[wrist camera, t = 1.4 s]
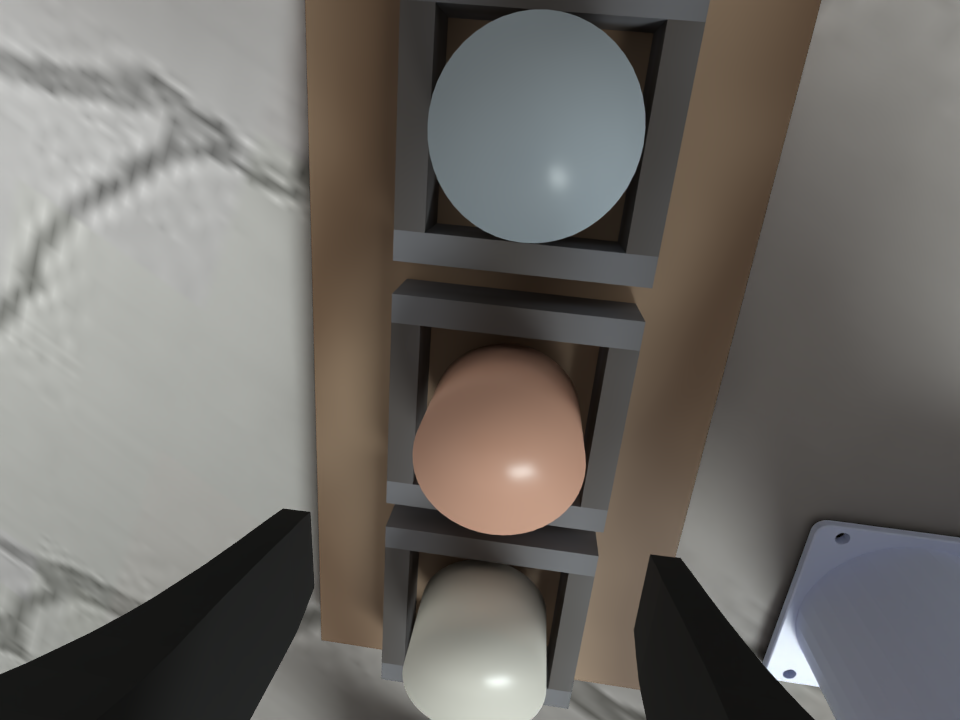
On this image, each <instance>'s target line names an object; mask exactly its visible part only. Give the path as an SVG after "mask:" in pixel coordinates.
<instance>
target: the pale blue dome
mask: <svg viewBox="0 0 960 720" xmlns="http://www.w3.org/2000/svg"><path fill="white" fill-rule="evenodd" d="M644 136H645V108H644V100H643V95H642V92H641V88H640V84H639V81H638V79H637V76H636V74H635V72H634V69H633V67H632V65H631V64H630V62H629V60H628V59H627V57H626V55H625V54H624V53H623V51H622V50H621V49H620V48H619V46H618V45H617V44H616V43H615V42H614V41H613V40H612V39H611V38H610V37H609V36H608V35H607V34H606V33H605V32H604V31H602V30H601V29H599V28H598V27H596V26H595V25H593V24H592V23H590V22H588V21H586V20H584V19H582V18H580V17H578V16H575V15H572V14H568V13H565V12H561V11H554V10H526V11H520V12H515V13H512V14H509V15H506V16H502V17H500V18H498V19H496V20H494V21H492V22H490V23H488V24H486V25H485V26H483V27H482V28H480V29H479V30H477V31H476V32H475V33H473V34H472V35H471V36H470V37H469V38H468V39H466V40H465V41H464V42H463V43H462V44H461V46H460V47H459V48H458V49H457V50H456V51H455V52H454V54H453V55H452V57H451V58H450V59H449V61H448V62H447V64H446V65H445V67H444V69H443V71H442V73H441V75H440V77H439V79H438V81H437V84H436V87H435V89H434V92H433V95H432V99H431V104H430V108H429V115H428V146H429V153H430V158H431V161H432V165H433V169H434V171H435V174H436V176H437V179H438V182H439V183H440V185H441V187H442V189H443V191H444V193H445V194H446V196H447V197H448V199H449V200H450V201H451V203H452V204H453V205H454V207H455V208H456V209H457V210H458V211H459V212H460V213H461V214H462V215H463V216H464V217H465V218H467V219H468V220H469V221H470V222H471V223H473V224H474V225H476V226H477V227H479V228H480V229H482V230H483V231H485V232H487V233H490V234H492V235H494V236H496V237H499V238H502V239H506V240H509V241H515V242H521V243H544V242H551V241H555V240H560V239H563V238H566V237H569V236H572V235H574V234H576V233H578V232H580V231H582V230H584V229H586V228H588V227H589V226H591V225H592V224H594V223H595V222H596V221H598V220H599V219H600V218H601V217H603V216H604V215H605V214H606V213H607V212H608V211H609V210H610V209H611V208H612V207H613V206H614V205H615V204H616V202H617V201H618V200H619V199H620V197H621V196H622V194H623V193H624V192H625V190H626V189H627V187H628V185H629V183H630V181H631V180H632V178H633V176H634V174H635V171H636V169H637V166H638V163H639V160H640V157H641V153H642V149H643V145H644Z"/></svg>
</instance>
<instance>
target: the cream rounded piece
mask: <svg viewBox="0 0 960 720" xmlns="http://www.w3.org/2000/svg"><path fill="white" fill-rule="evenodd" d="M402 675H403V683H404V687H405V690H406V692H407V694H408V696H409V698H410V700H411V701H412V702H413V704H414V705H415V706H416V707H417V708H418V709H419V710H420V711H421V712H422V713H423V714H424V715H426V716H427V717H428V718H430V719H431V720H531V719H532V718H533V717H534V716H535V715H536V714H537V713H538V712H539V710H540V709H541V707H542V705H543V703H544V700H545V696H546V605H545V601H544V599H543V596H542V594H541V592H540V591H539V589H538V588H537V586H536V585H535V584H534V583H533V582H532V581H531V580H530V579H529V578H528V577H527V576H526V575H524V574H523V573H522V572H520V571H518V570H516V569H515V568H513V567H511V566H508V565H506V564H501V563H494V562H487V561H480V560H465V561H460V562H456V563H453V564H451V565H448V566H446V567H445V568H443V569H441V570H440V571H438V572H437V573H436V574H435V575H434V576H433V577H432V578H431V579H430V580H429V582H428V583H427V585H426V587H425V589H424V592H423V595H422V599H421V603H420V606H419V610H418V614H417V617H416V621H415V625H414V628H413V632H412V636H411V639H410V643H409V647H408V651H407V654H406V658H405V662H404V665H403V672H402Z"/></svg>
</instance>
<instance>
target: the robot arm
mask: <svg viewBox="0 0 960 720" xmlns="http://www.w3.org/2000/svg"><path fill="white" fill-rule="evenodd" d="M840 533H844V535H843V536H841V537H838V538H835V537H836V536H837V535H838V534H840ZM313 589H314V572H313V553H312V535H311V516H310V512H306V511H298V510H290V509H282V510H280V511H279V512H278V513H276V514H275V515H273V516H272V517H270V518H269V519H268V520H266V521H265V522H263V523H262V524H261V525H259V526H258V527H257V528H255V529H254V530H253V531H251V532H250V533H248V534H247V535H246V536H244V537H243V538H242V539H240V540H239V541H237V542H236V543H235V544H233V545H232V546H230V547H229V548H227V549H226V550H225V551H223V552H222V553H220V554H219V555H218V556H216V557H215V558H213V559H212V560H210V561H209V562H208V563H206V564H205V565H203V566H202V567H200V568H199V569H197V570H196V571H194V572H193V573H191V574H189V575H188V576H186V577H185V578H183V579H182V580H180V581H179V582H177V583H176V584H174V585H172V586H171V587H169V588H168V589H166V590H165V591H163V592H162V593H160V594H158V595H157V596H155V597H154V598H152V599H150V600H149V601H147V602H145V603H144V604H142V605H140V606H138V607H137V608H135V609H133V610H132V611H130V612H128V613H126V614H124V615H123V616H121V617H119V618H117V619H115V620H113V621H111V622H110V623H108V624H106V625H104V626H102V627H100V628H99V629H97V630H95V631H93V632H91V633H89V634H87V635H85V636H83V637H81V638H78V639H76V640H74V641H72V642H70V643H68V644H66V645H64V646H62V647H60V648H58V649H55V650H53V651H51V652H49V653H47V654H45V655H43V656H41V657H39V658H37V659H35V660H32V661H30V662H28V663H26V664H23V665H21V666H19V667H16V668H14V669H12V670H9V671H7V672H5V673H2V674H0V720H250V719H251V717H252V715H253V713H254V711H255V709H256V708H257V706H258V704H259V702H260V700H261V698H262V696H263V695H264V693H265V691H266V689H267V687H268V685H269V683H270V682H271V680H272V678H273V676H274V674H275V672H276V670H277V669H278V667H279V665H280V663H281V661H282V659H283V657H284V655H285V654H286V652H287V650H288V648H289V646H290V644H291V642H292V640H293V638H294V636H295V634H296V632H297V630H298V628H299V625H300V623H301V620H302V618H303V615H304V613H305V610H306V608H307V605H308V602H309V600H310V597H311V594H312V592H313ZM634 639H635V651H636V661H637V671H638V680H639V685H640V690H641V695H642V700H643V705H644V709H645V714H646V719H647V720H814V719H813V718H812V717H811V716H810V715H809V714H808V713H807V712H806V711H805V710H804V709H803V708H802V707H801V705H800V704H799V703H798V702H797V701H796V700H795V699H794V698H793V697H792V696H791V695H790V694H789V693H788V692H787V691H786V690H785V688H784V687H783V686H782V685H781V684H780V683H779V682H778V681H785V682H791V683H798V684H804V685H811V686H818V687H820V689H821V691H822V693H823V695H824V697H825V699H826V701H827V703H828V705H829V707H830V709H831V711H832V713H833V715H834V717H835V719H836V720H960V537H952V536H945V535H937V534H930V533H922V532H915V531H907V530H899V529H892V528H884V527H877V526H869V525H862V524H854V523H847V522H839V521H831V520H822V521H819V522H817V523H816V524H814V525H813V527H812V528H811V531H810V533H809V536H808V539H807V542H806V544H805V547H804V550H803V553H802V555H801V558H800V561H799V564H798V566H797V569H796V572H795V575H794V577H793V580H792V583H791V586H790V588H789V591H788V594H787V597H786V599H785V602H784V605H783V608H782V610H781V613H780V616H779V619H778V621H777V624H776V627H775V630H774V632H773V635H772V638H771V641H770V643H769V646H768V649H767V652H766V654H765V657H764V660H763V662H762V663H761V661H760V660H759V659H758V658H757V657H756V655H755V654H754V653H753V652H752V651H751V649H750V648H749V647H748V646H747V644H746V643H745V642H744V641H743V639H742V638H741V637H740V636H739V634H738V633H737V632H736V631H735V630H734V628H733V627H732V626H731V625H730V623H729V622H728V621H727V619H726V618H725V617H724V616H723V614H722V613H721V612H720V610H719V609H718V608H717V606H716V605H715V604H714V602H713V601H712V600H711V598H710V597H709V596H708V594H707V593H706V592H705V590H704V589H703V588H702V586H701V585H700V584H699V582H698V581H697V579H696V578H695V577H694V575H693V574H692V573H691V571H690V570H689V569H688V567H687V566H686V565H685V563H684V562H683V561H682V559H681V558H676V557H668V556H660V555H652V554H650V557H649V562H648V566H647V571H646V575H645V580H644V585H643V589H642V594H641V598H640V603H639V608H638V612H637V617H636V621H635V626H634ZM789 669H790V670H789ZM777 680H778V681H777Z"/></svg>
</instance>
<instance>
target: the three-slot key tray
mask: <svg viewBox="0 0 960 720" xmlns="http://www.w3.org/2000/svg"><path fill="white" fill-rule="evenodd" d="M820 3H821V0H305V14H306V53H307V92H308V131H309V170H310V210H311V249H312V288H313V327H314V366H315V405H316V444H317V483H318V522H319V561H320V600H321V639H322V640H324V641H331V642H337V643H343V644H350V645H356V646H363V647H369V648H375V649H382V678H381V679H385V680H391V681H398V682H403V675H402V672H403V665H404V662H405V658H406V654H407V651H408V647H409V643H410V639H411V636H412V632H413V628H414V625H415V621H416V617H417V614H418V610H419V606H420V603H421V599H422V595H423V592H424V589H425V587H426V585H427V583H428V582H429V580H430V579H431V578H432V577H433V576H434V575H435V574H436V573H437V572H438V571H440V570H441V569H443V568H445V567H446V566H448V565H451V564H453V563H456V562H460V561H465V560H480V561H487V562H494V563H501V564H506V565H508V566H511V567H513V568H515V569H516V570H518V571H520V572H522V573H523V574H524V575H526V576H527V577H528V578H529V579H530V580H531V581H532V582H533V583H534V584H535V585H536V586H537V588H538V589H539V591H540V592H541V594H542V596H543V599H544V601H545V605H546V696H545V700H544V703H543V705H548V706H554V707H561V708H567V709H568V707H569V702H570V697H571V692H572V687H573V682H574V680H581V681H587V682H593V683H600V684H606V685H613V686H619V687H626V688H632V689H638V690H640V685H639V680H638V671H637V661H636V651H635V639H634V626H635V621H636V617H637V612H638V608H639V603H640V598H641V594H642V589H643V585H644V580H645V575H646V571H647V566H648V562H649V557H650V554H652V555H660V556H668V557H675V556H676V552H677V548H678V545H679V541H680V537H681V533H682V529H683V526H684V522H685V518H686V514H687V510H688V507H689V503H690V499H691V495H692V491H693V488H694V484H695V480H696V476H697V472H698V468H699V465H700V461H701V457H702V453H703V449H704V446H705V442H706V438H707V434H708V430H709V427H710V423H711V419H712V415H713V411H714V407H715V404H716V400H717V396H718V392H719V388H720V385H721V381H722V377H723V373H724V369H725V366H726V362H727V358H728V354H729V350H730V346H731V343H732V339H733V335H734V331H735V327H736V324H737V320H738V316H739V312H740V308H741V305H742V301H743V297H744V293H745V289H746V285H747V282H748V278H749V274H750V270H751V266H752V263H753V259H754V255H755V251H756V247H757V244H758V240H759V236H760V232H761V228H762V224H763V221H764V217H765V213H766V209H767V205H768V202H769V198H770V194H771V190H772V186H773V183H774V179H775V175H776V171H777V167H778V164H779V160H780V156H781V152H782V148H783V144H784V141H785V137H786V133H787V129H788V125H789V122H790V118H791V114H792V110H793V106H794V103H795V99H796V95H797V91H798V87H799V83H800V80H801V76H802V72H803V68H804V64H805V61H806V57H807V53H808V49H809V45H810V42H811V38H812V34H813V30H814V26H815V22H816V19H817V15H818V11H819V7H820ZM526 10H554V11H561V12H565V13H568V14H572V15H575V16H578V17H580V18H582V19H584V20H586V21H588V22H590V23H592V24H593V25H595V26H596V27H598V28H599V29H601V30H602V31H604V32H605V33H606V34H607V35H608V36H609V37H610V38H611V39H612V40H613V41H614V42H615V43H616V44H617V45H618V46H619V48H620V49H621V50H622V51H623V53H624V54H625V55H626V57H627V59H628V60H629V62H630V64H631V65H632V67H633V69H634V72H635V74H636V76H637V79H638V81H639V84H640V88H641V92H642V95H643V100H644V108H645V136H644V145H643V149H642V153H641V157H640V160H639V163H638V166H637V169H636V171H635V174H634V176H633V178H632V180H631V181H630V183H629V185H628V187H627V189H626V190H625V192H624V193H623V194H622V196H621V197H620V199H619V200H618V201H617V202H616V204H615V205H614V206H613V207H612V208H611V209H610V210H609V211H608V212H607V213H606V214H605V215H604V216H603V217H601V218H600V219H599V220H598V221H596V222H595V223H594V224H592V225H591V226H589V227H588V228H586V229H584V230H582V231H580V232H578V233H576V234H574V235H572V236H569V237H566V238H563V239H560V240H555V241H551V242H544V243H521V242H515V241H509V240H506V239H502V238H499V237H496V236H494V235H492V234H490V233H487V232H485V231H483V230H482V229H480V228H479V227H477V226H476V225H474V224H473V223H471V222H470V221H469V220H468V219H467V218H465V217H464V216H463V215H462V214H461V213H460V212H459V211H458V210H457V209H456V208H455V207H454V205H453V204H452V203H451V201H450V200H449V199H448V197H447V196H446V194H445V193H444V191H443V189H442V187H441V185H440V183H439V182H438V179H437V176H436V174H435V171H434V169H433V165H432V161H431V158H430V153H429V146H428V115H429V108H430V104H431V99H432V95H433V92H434V89H435V87H436V84H437V81H438V79H439V77H440V75H441V73H442V71H443V69H444V67H445V65H446V64H447V62H448V61H449V59H450V58H451V57H452V55H453V54H454V52H455V51H456V50H457V49H458V48H459V47H460V46H461V44H462V43H463V42H464V41H465V40H466V39H468V38H469V37H470V36H471V35H472V34H473V33H475V32H476V31H477V30H479V29H480V28H482V27H483V26H485V25H486V24H488V23H490V22H492V21H494V20H496V19H498V18H500V17H502V16H506V15H509V14H512V13H515V12H520V11H526ZM500 343H507V344H517V345H523V346H526V347H529V348H532V349H535V350H537V351H539V352H541V353H543V354H545V355H546V356H548V357H550V358H551V359H552V360H553V361H555V362H556V363H557V364H558V365H559V366H560V367H561V368H562V369H563V370H564V371H565V372H566V374H567V375H568V377H569V378H570V380H571V382H572V383H573V385H574V387H575V390H576V393H577V396H578V401H579V407H580V415H581V424H582V432H583V440H584V448H585V458H586V469H585V477H584V480H583V484H582V487H581V489H580V492H579V494H578V495H577V497H576V499H575V500H574V502H573V503H572V504H571V506H570V507H569V508H568V509H567V510H566V511H565V512H564V513H563V514H562V515H561V516H560V517H558V518H557V519H555V520H554V521H553V522H551V523H549V524H547V525H545V526H544V527H541V528H539V529H536V530H534V531H530V532H526V533H522V534H515V535H492V534H486V533H481V532H477V531H474V530H471V529H468V528H465V527H463V526H461V525H459V524H457V523H455V522H453V521H452V520H450V519H449V518H447V517H446V516H444V515H443V514H442V513H441V512H439V511H438V510H437V509H436V508H435V507H434V506H433V505H432V504H431V502H430V501H429V500H428V499H427V497H426V496H425V494H424V493H423V491H422V490H421V487H420V485H419V483H418V481H417V478H416V475H415V472H414V467H413V453H412V452H413V444H414V440H415V436H416V433H417V431H418V428H419V426H420V424H421V422H422V419H423V417H424V415H425V413H426V410H427V408H428V406H429V403H430V401H431V399H432V397H433V394H434V392H435V390H436V388H437V385H438V383H439V381H440V379H441V377H442V376H443V374H444V372H445V371H446V370H447V369H448V367H449V366H450V365H451V364H452V363H453V362H454V361H455V360H457V359H458V358H459V357H461V356H462V355H464V354H465V353H467V352H469V351H471V350H473V349H476V348H479V347H482V346H485V345H491V344H500Z"/></svg>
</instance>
